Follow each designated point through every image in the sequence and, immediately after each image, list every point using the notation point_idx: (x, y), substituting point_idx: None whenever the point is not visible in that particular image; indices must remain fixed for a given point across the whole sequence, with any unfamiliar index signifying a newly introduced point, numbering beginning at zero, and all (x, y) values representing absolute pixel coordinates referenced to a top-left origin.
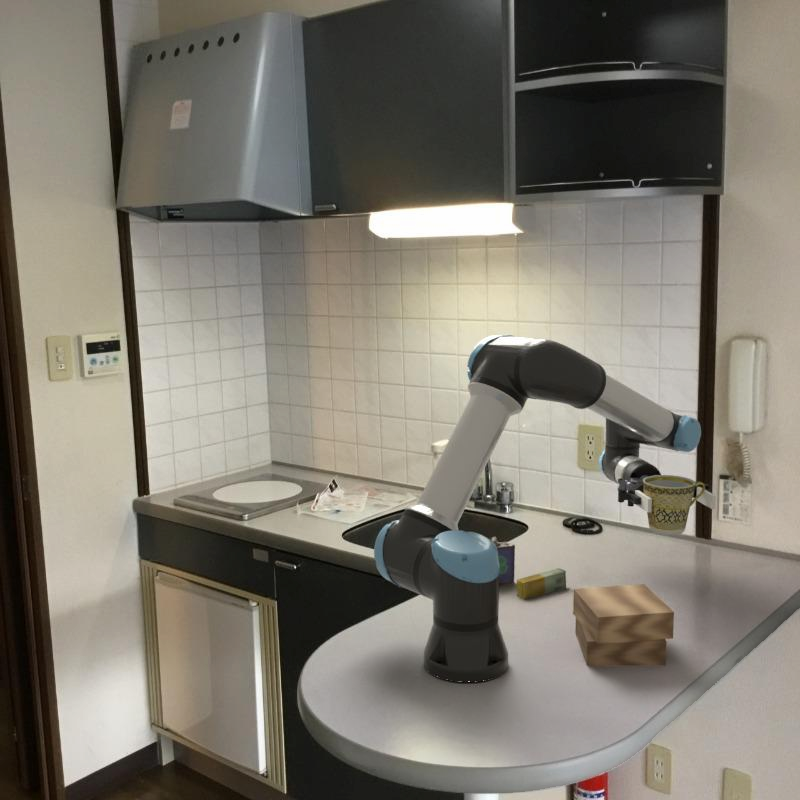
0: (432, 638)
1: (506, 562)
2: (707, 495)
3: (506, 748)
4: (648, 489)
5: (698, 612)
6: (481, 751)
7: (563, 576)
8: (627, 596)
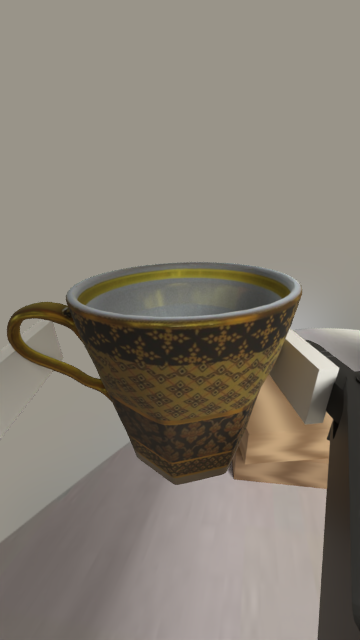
0: None
1: None
2: (38, 341)
3: (325, 335)
4: (266, 288)
5: (110, 583)
6: (337, 334)
7: None
8: (275, 394)
